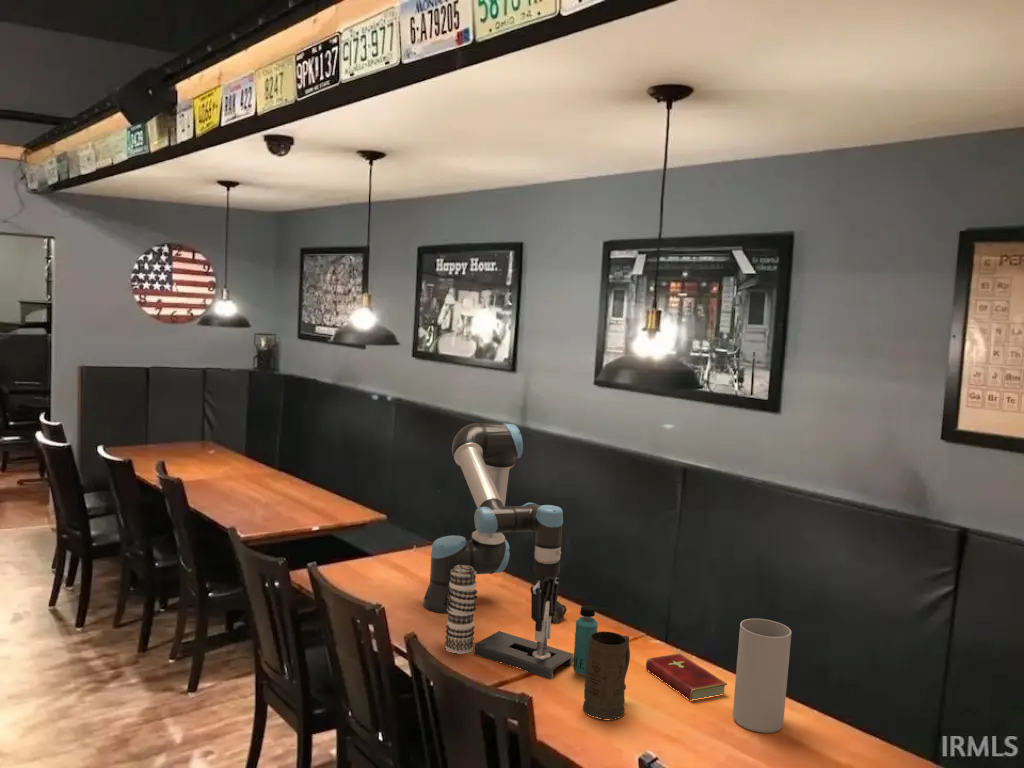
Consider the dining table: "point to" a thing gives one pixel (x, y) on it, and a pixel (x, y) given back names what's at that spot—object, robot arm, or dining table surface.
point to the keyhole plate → (521, 654)
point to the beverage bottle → (583, 638)
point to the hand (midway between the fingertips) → (542, 639)
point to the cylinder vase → (761, 675)
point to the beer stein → (606, 675)
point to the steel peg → (542, 647)
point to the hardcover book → (685, 676)
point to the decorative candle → (461, 609)
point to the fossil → (559, 613)
